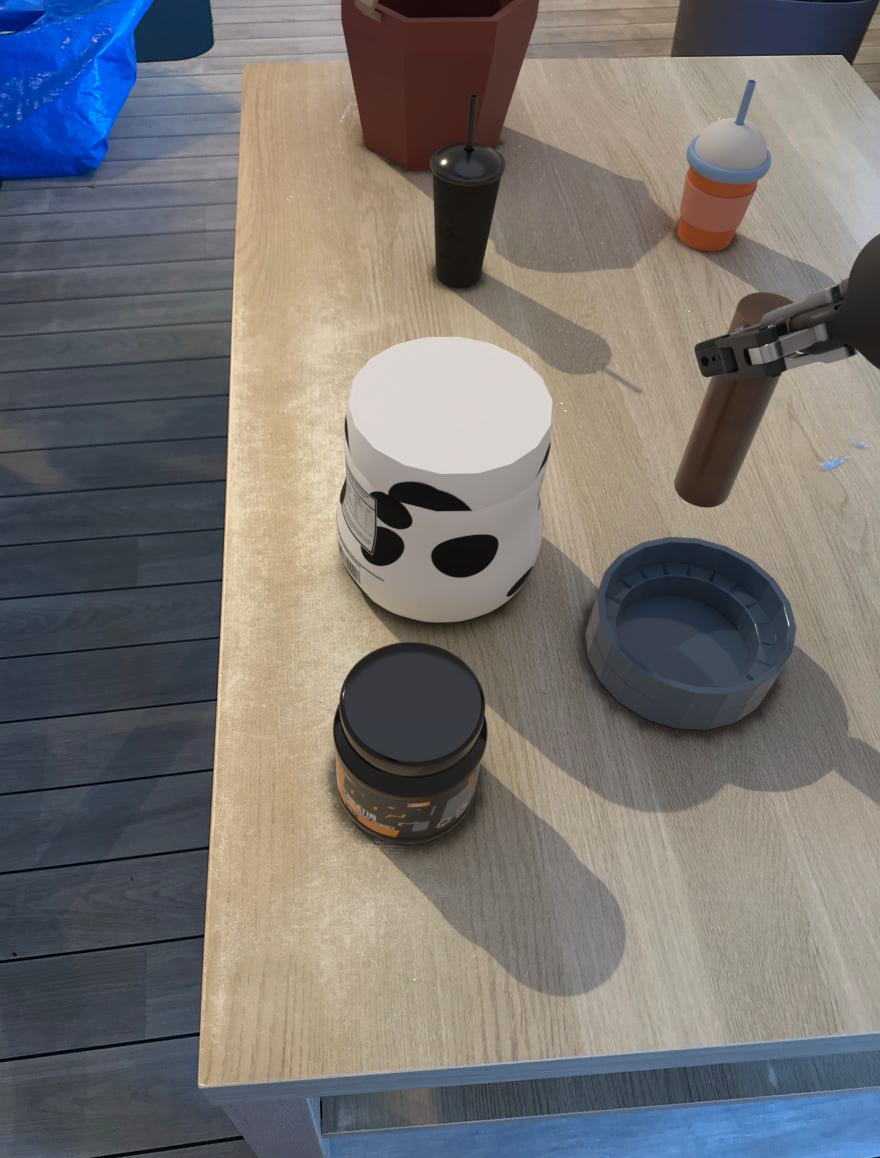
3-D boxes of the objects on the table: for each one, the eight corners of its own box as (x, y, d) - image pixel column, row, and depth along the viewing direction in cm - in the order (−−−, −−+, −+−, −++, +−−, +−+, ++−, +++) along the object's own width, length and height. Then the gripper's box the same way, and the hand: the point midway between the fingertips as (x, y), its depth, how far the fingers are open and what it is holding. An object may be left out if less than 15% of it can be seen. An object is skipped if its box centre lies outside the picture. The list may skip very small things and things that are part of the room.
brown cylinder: (691, 460, 74) (756, 283, 61) (739, 486, 72) (816, 310, 60) (663, 489, 72) (725, 313, 59) (712, 516, 70) (785, 341, 58)
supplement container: (307, 771, 74) (299, 685, 65) (417, 700, 78) (425, 609, 69) (392, 878, 70) (398, 802, 60) (505, 797, 74) (527, 713, 64)
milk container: (560, 525, 90) (599, 365, 75) (492, 669, 80) (521, 518, 66) (386, 466, 93) (391, 302, 79) (302, 597, 84) (289, 439, 69)
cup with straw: (695, 209, 120) (742, 52, 106) (757, 243, 117) (814, 84, 102) (648, 237, 117) (689, 78, 102) (710, 272, 113) (762, 112, 98)
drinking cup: (440, 252, 114) (453, 69, 97) (502, 271, 112) (525, 88, 96) (411, 288, 110) (420, 103, 93) (475, 308, 108) (495, 123, 92)
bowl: (751, 586, 86) (775, 541, 81) (785, 738, 77) (814, 698, 73) (577, 579, 86) (590, 533, 81) (591, 730, 77) (607, 689, 72)
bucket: (464, 84, 137) (482, -137, 117) (561, 159, 126) (599, -69, 106) (308, 127, 129) (298, -102, 108) (397, 211, 118) (405, -25, 98)
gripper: (1051, 166, 50) (791, 258, 65) (855, 247, 45) (625, 326, 61) (1080, 313, 52) (820, 369, 67) (894, 406, 47) (661, 442, 62)
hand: (728, 348), depth 64 cm, fingers closed on brown cylinder, 4 cm apart
